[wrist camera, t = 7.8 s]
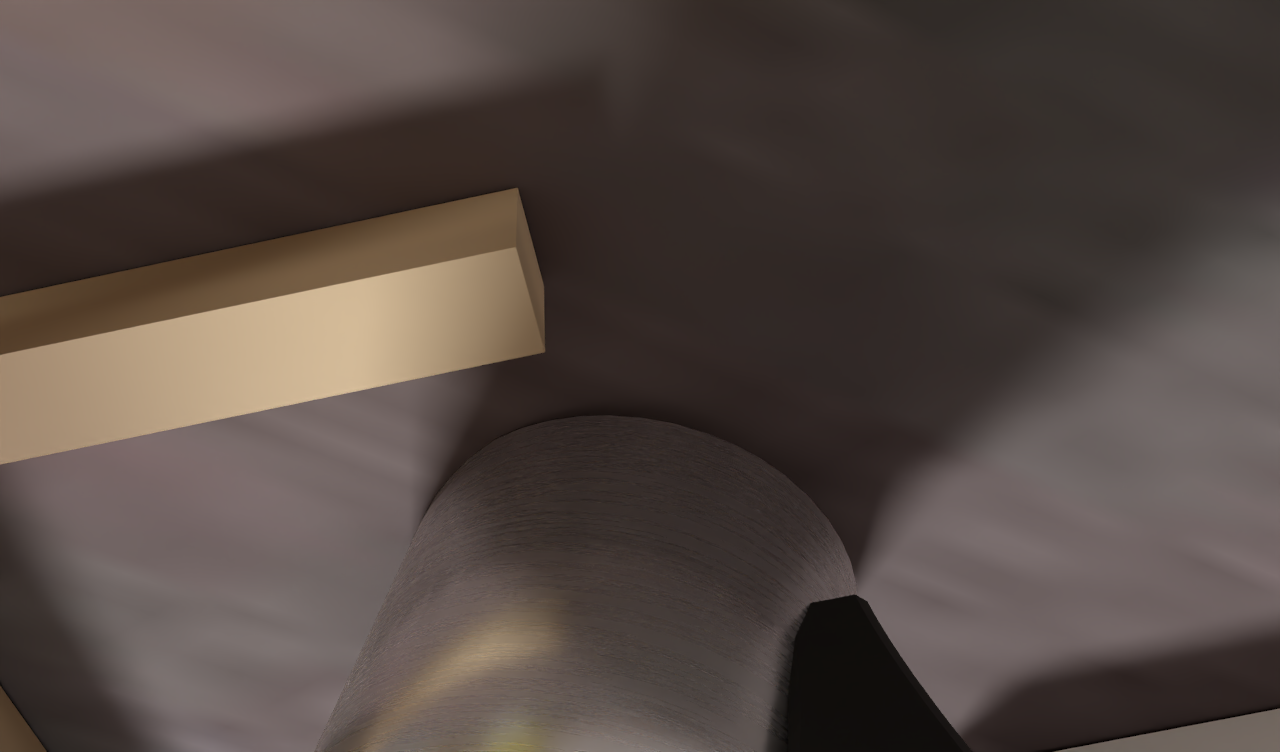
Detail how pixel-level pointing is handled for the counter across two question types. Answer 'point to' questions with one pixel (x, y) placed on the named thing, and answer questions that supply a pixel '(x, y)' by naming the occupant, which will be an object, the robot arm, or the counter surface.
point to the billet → (596, 600)
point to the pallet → (264, 332)
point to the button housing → (1203, 737)
